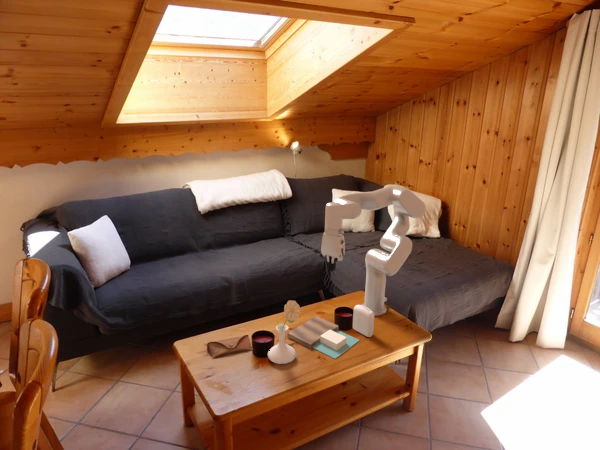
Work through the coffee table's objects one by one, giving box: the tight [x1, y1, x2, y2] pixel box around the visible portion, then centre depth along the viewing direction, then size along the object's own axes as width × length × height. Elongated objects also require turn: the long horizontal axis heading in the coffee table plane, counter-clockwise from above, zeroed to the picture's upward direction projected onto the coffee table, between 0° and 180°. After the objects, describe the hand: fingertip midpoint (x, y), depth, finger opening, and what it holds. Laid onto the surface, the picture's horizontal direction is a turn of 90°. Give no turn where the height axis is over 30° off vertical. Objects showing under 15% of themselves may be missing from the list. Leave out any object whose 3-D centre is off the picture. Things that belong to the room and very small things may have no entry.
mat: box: [311, 330, 361, 360], centre depth 174 cm, size 18×12×1 cm, turn 139°
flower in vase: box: [267, 300, 302, 365], centre depth 161 cm, size 13×11×25 cm
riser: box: [287, 315, 340, 349], centre depth 181 cm, size 20×13×2 cm, turn 139°
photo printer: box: [352, 304, 375, 338], centre depth 182 cm, size 10×4×12 cm, turn 39°
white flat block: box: [320, 330, 347, 350], centre depth 174 cm, size 7×9×3 cm
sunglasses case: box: [206, 334, 253, 360], centre depth 169 cm, size 18×7×7 cm, turn 114°
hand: (331, 270), depth 181 cm, fingers closed
